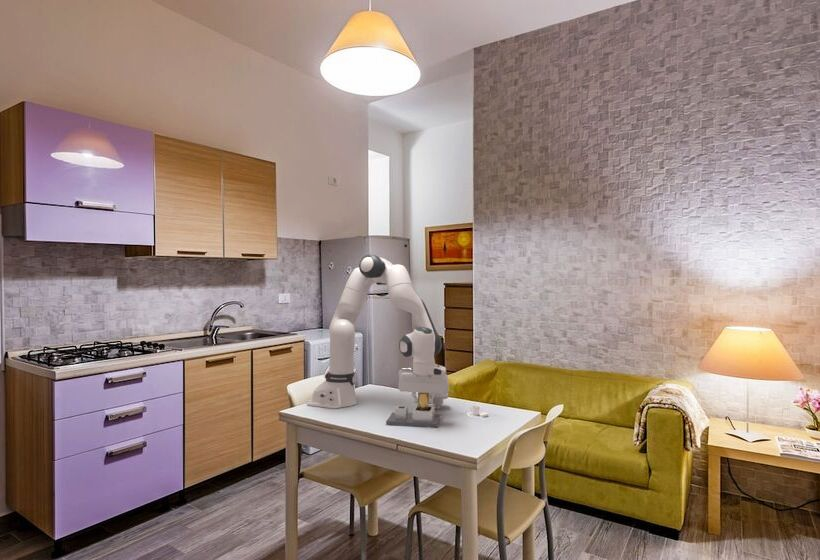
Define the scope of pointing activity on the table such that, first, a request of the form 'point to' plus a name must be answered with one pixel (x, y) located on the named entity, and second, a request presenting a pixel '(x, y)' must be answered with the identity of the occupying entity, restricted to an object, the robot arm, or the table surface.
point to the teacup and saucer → (477, 412)
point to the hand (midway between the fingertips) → (423, 403)
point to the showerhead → (438, 399)
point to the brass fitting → (423, 401)
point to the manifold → (414, 417)
